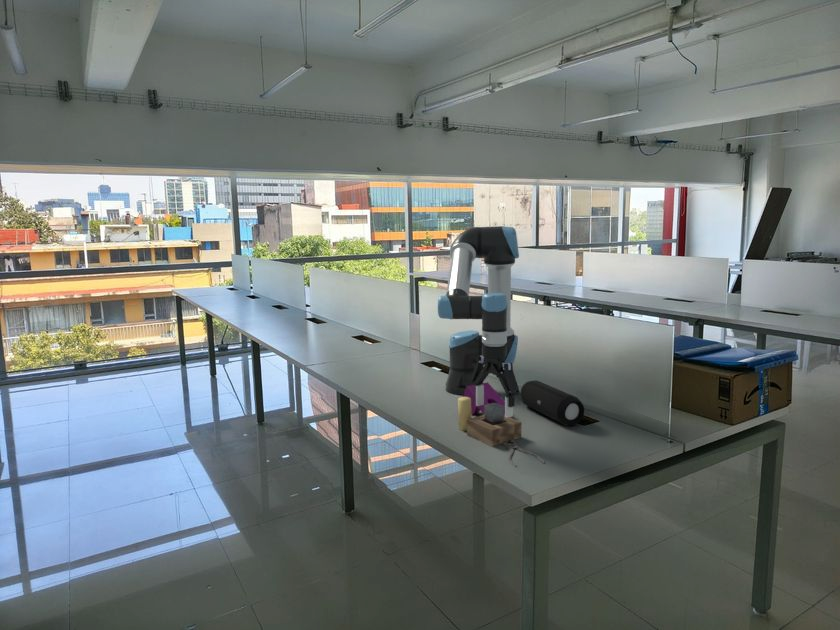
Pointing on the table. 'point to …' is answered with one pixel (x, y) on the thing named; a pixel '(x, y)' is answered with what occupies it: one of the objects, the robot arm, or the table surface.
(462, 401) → the round peg
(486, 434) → the socket block
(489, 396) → the mounting bracket
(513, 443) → the pliers
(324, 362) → the table surface
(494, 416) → the square peg
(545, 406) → the portable speaker
